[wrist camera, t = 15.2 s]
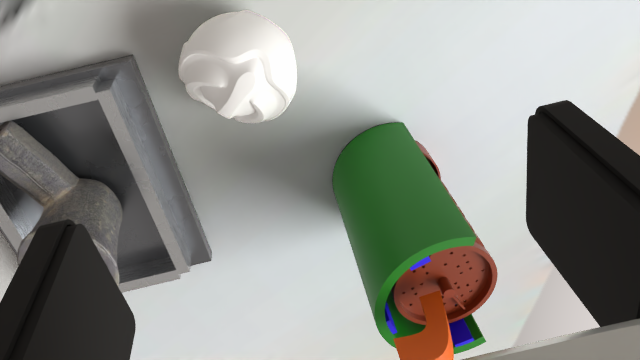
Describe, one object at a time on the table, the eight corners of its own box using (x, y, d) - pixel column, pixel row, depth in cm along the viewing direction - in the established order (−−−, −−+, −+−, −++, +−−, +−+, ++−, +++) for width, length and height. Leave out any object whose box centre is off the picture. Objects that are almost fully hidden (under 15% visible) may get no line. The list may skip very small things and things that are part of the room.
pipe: (33, 99, 39) (-8, 153, 32) (155, 215, 45) (142, 281, 39) (-29, 143, 40) (-82, 205, 33) (99, 251, 46) (76, 321, 40)
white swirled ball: (167, 67, 40) (154, 111, 34) (214, -26, 37) (210, 3, 31) (262, 115, 43) (267, 164, 37) (313, 33, 40) (328, 71, 34)
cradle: (-72, 103, 39) (-94, 122, 36) (133, 54, 39) (125, 70, 37) (50, 290, 49) (39, 316, 47) (211, 252, 50) (210, 275, 47)
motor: (449, 196, 50) (559, 377, 33) (361, 238, 51) (425, 434, 34) (408, 108, 45) (514, 272, 28) (311, 158, 46) (357, 344, 29)
